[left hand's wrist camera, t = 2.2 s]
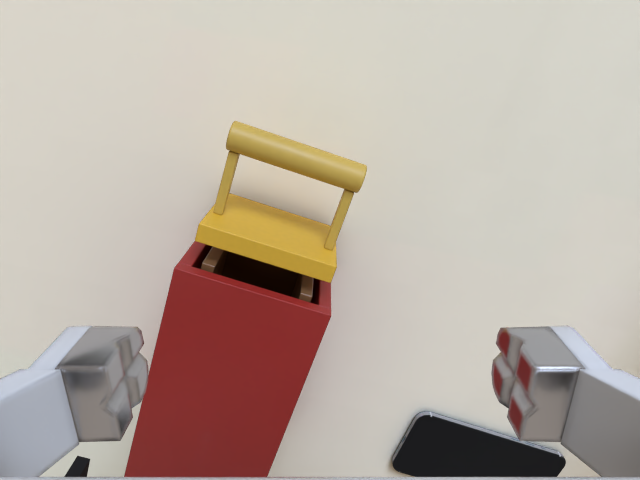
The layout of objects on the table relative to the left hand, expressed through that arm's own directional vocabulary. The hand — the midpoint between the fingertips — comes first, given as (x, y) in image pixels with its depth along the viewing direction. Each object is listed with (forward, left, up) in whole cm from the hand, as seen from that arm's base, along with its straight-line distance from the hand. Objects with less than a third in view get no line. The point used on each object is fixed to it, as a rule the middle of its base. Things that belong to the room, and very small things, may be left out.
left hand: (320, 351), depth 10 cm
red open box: (+7, +15, -24) cm, 30 cm away
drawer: (+5, +9, -23) cm, 26 cm away
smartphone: (-14, +29, -24) cm, 40 cm away
